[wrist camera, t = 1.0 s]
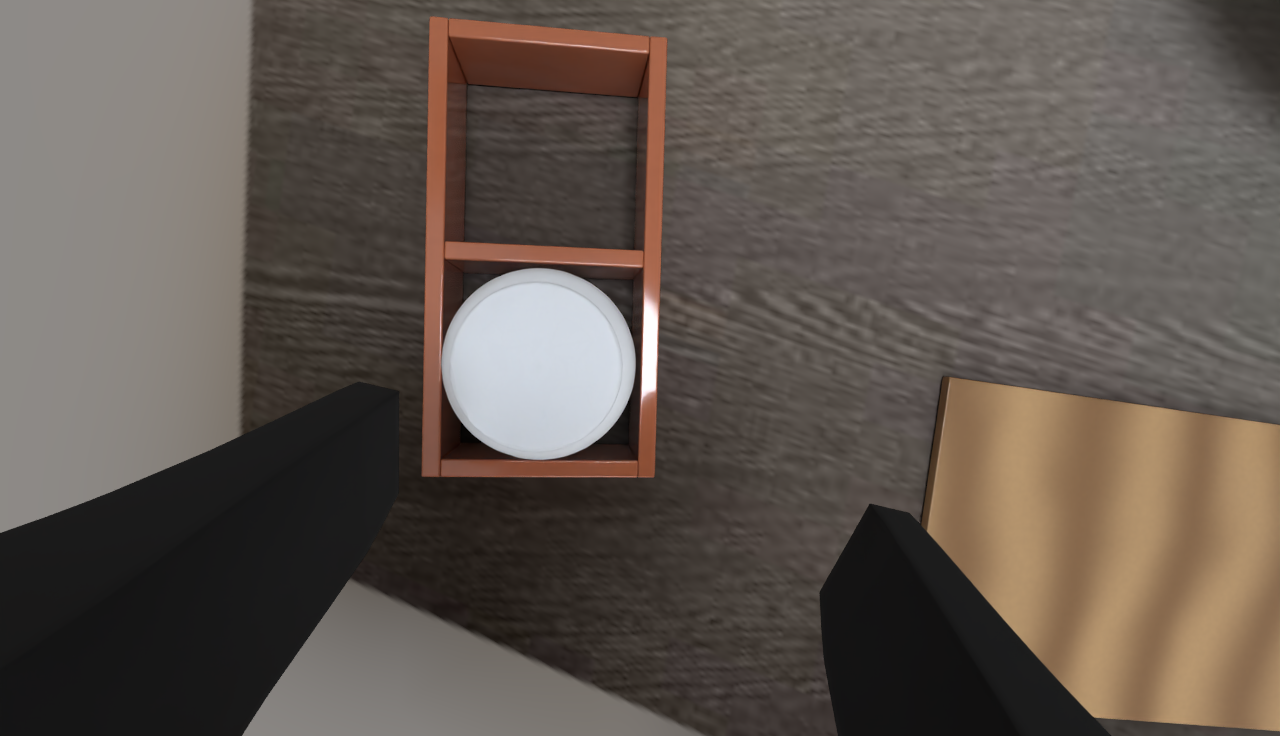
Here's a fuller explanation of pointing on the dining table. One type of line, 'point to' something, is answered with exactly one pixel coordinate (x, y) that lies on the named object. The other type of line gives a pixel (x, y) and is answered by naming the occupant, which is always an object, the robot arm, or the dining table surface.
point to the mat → (1119, 546)
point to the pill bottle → (538, 363)
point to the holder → (553, 66)
